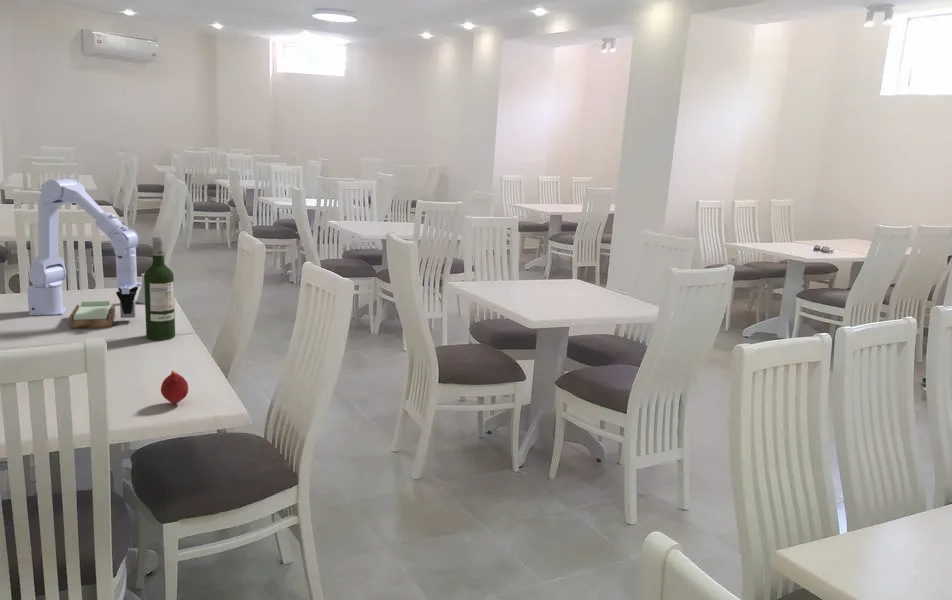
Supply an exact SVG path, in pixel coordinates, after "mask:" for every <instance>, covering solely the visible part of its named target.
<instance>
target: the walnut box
mask: <svg viewBox="0 0 952 600" xmlns="http://www.w3.org/2000/svg"><path fill="white" fill-rule="evenodd" d="M111 305H112V308H111V310H110V312H109V315H108V317H107V319H84V320H73V317H74V315H75V313H76V312H77V310H78V308H79V307H80V305H79V304H77V305H76V306H74V309H73V310H72V311H71V314H70V315H69V329H70V330H76V329H77V330H80V329H82V330H83V329H106V328H107V329H108V328H109V327H110V328H109V329H111V328H112V326H113V324H112V323H114V321H115V318H116V316H115V315H116V303H113V304H111Z"/></svg>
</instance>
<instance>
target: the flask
mask: <svg viewBox="0 0 952 600" xmlns="http://www.w3.org/2000/svg"><path fill="white" fill-rule="evenodd" d="M144 274H145V272H144V273H141V279H142V280H141V286H140V289H139V292H138V296H137V299H136V300H135V304H136V303H137V304H144V305H145V288H144Z"/></svg>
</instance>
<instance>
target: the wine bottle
mask: <svg viewBox="0 0 952 600" xmlns="http://www.w3.org/2000/svg"><path fill="white" fill-rule="evenodd" d="M163 242H164V238H163V236H160V235H155V236H152V264H151V265H150V266H149V267H148V268H147V269H146V271H145V272H144V273H145V274H144V273H143V274H144V288H145V304H144V307H145V308H144V309H145V313H144V314H145V333H146V334H145V335H146V338H147V340H150V339H151V340H150V341H166V340H165V339H168V340H171V339H170V338H172V339H173V337H174V338H175V336H176V317H175V314H176V313H175V311H176V310H175V283H174V280H175V279H174V272H173V271H172V270H171V269H170V267H168V266H167V265H166V263H165V256H164V244H163Z"/></svg>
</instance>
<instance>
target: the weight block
mask: <svg viewBox="0 0 952 600" xmlns="http://www.w3.org/2000/svg"><path fill="white" fill-rule="evenodd" d="M119 305H120V306H119V309H120V310H119V311H120V319H135V318H136V315H137V313H136V312H137V310H136V309H137V308H136V298H134V300H133V307H132V312H131V314H124V313H123V309H122V305H121V302H120V301H119Z"/></svg>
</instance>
